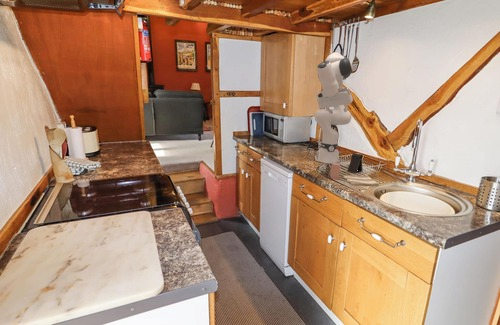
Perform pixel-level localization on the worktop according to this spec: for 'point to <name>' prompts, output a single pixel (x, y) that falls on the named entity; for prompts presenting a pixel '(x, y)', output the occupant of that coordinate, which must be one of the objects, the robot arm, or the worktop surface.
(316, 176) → the worktop surface
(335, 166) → the terracotta block
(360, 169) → the door stopper
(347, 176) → the ash board
